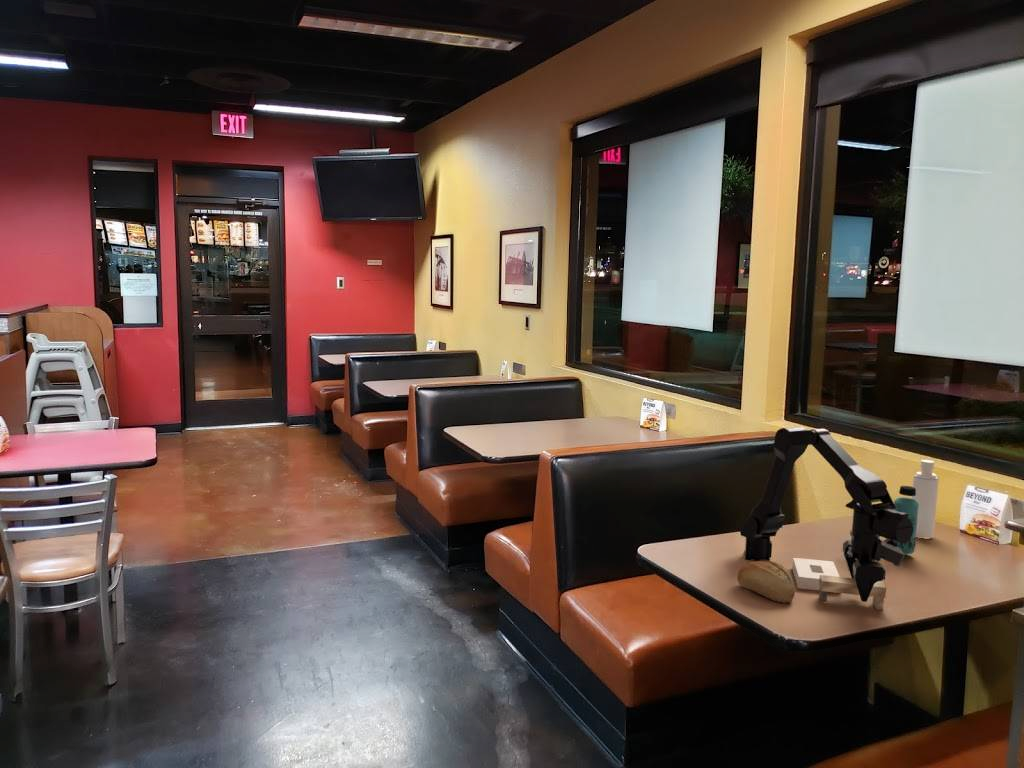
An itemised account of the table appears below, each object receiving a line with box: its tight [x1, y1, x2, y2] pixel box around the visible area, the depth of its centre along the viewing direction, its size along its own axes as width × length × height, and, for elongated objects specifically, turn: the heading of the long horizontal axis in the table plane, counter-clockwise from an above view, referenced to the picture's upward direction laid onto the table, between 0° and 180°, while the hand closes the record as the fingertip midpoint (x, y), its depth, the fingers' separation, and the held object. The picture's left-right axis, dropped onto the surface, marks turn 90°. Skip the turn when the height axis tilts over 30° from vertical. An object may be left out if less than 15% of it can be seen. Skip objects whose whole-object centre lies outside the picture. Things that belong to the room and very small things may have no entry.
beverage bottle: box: [893, 485, 919, 555], centre depth 213 cm, size 6×7×20 cm
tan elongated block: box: [818, 575, 887, 610], centre depth 181 cm, size 14×4×6 cm, turn 75°
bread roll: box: [736, 559, 796, 604], centre depth 186 cm, size 10×15×8 cm, turn 38°
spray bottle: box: [911, 459, 940, 538], centre depth 231 cm, size 7×7×25 cm
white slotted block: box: [791, 557, 841, 592], centre depth 195 cm, size 10×14×3 cm
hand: (860, 593), depth 181 cm, fingers open, 9 cm apart
